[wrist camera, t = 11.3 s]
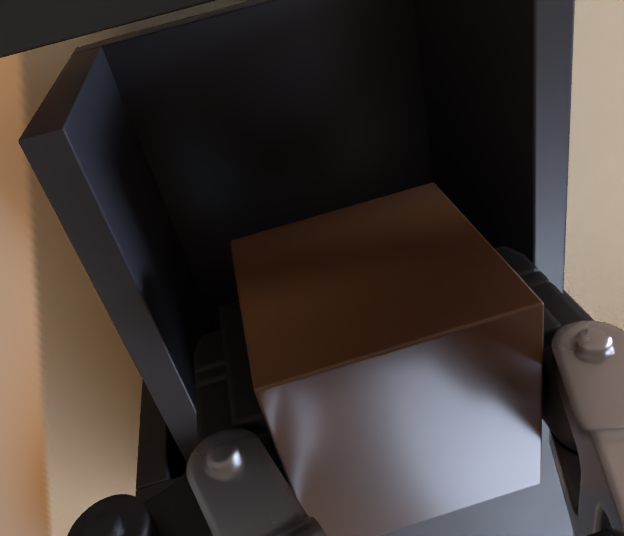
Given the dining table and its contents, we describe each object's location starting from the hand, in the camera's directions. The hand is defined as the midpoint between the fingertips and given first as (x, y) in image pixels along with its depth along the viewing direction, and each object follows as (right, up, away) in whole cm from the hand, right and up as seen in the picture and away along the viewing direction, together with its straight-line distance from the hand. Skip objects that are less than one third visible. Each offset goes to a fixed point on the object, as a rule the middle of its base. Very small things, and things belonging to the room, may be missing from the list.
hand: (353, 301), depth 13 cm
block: (0, 0, 0) cm, 0 cm away
